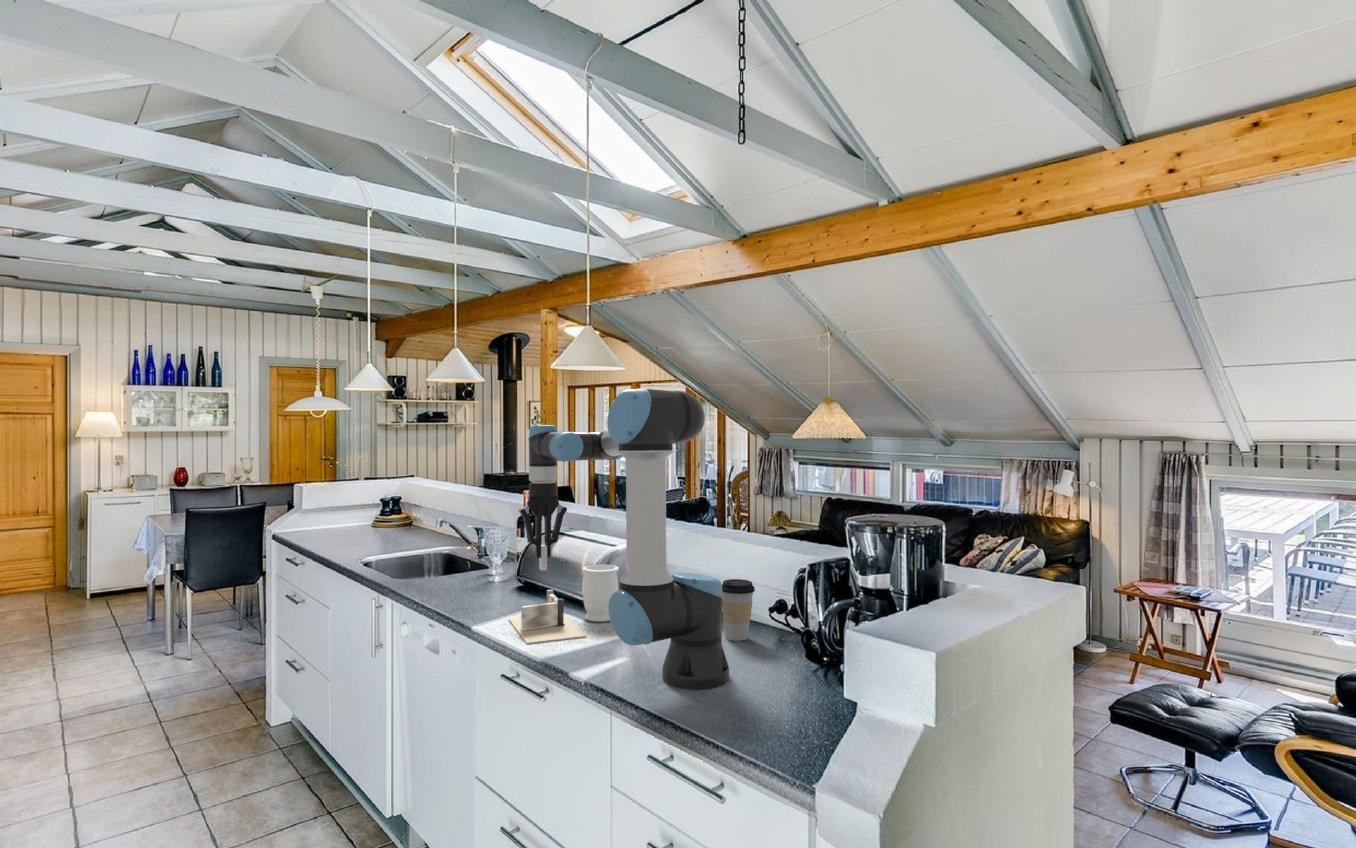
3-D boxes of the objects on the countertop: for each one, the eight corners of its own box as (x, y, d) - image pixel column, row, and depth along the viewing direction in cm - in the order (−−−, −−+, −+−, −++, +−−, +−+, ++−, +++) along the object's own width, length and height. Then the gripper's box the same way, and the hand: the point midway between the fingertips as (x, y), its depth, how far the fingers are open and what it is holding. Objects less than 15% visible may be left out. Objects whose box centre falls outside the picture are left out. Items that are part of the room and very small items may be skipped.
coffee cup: (713, 640, 186) (714, 583, 186) (727, 631, 194) (728, 577, 194) (746, 645, 181) (747, 587, 181) (759, 636, 190) (760, 581, 190)
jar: (620, 614, 210) (621, 564, 210) (614, 624, 200) (615, 571, 200) (586, 613, 211) (586, 563, 211) (578, 622, 201) (578, 570, 201)
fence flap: (523, 630, 190) (523, 604, 190) (521, 628, 191) (521, 603, 191) (564, 624, 196) (564, 599, 196) (562, 622, 197) (562, 598, 197)
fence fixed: (565, 626, 196) (565, 600, 196) (557, 627, 195) (557, 601, 195) (553, 613, 208) (553, 589, 208) (545, 614, 207) (545, 590, 207)
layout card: (586, 637, 187) (586, 635, 187) (526, 644, 180) (526, 642, 180) (562, 614, 209) (562, 612, 209) (508, 620, 202) (508, 618, 202)
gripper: (562, 480, 195) (562, 565, 195) (516, 482, 190) (515, 569, 189) (570, 482, 188) (570, 570, 188) (521, 483, 183) (521, 574, 182)
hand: (543, 569), depth 189 cm, fingers closed
